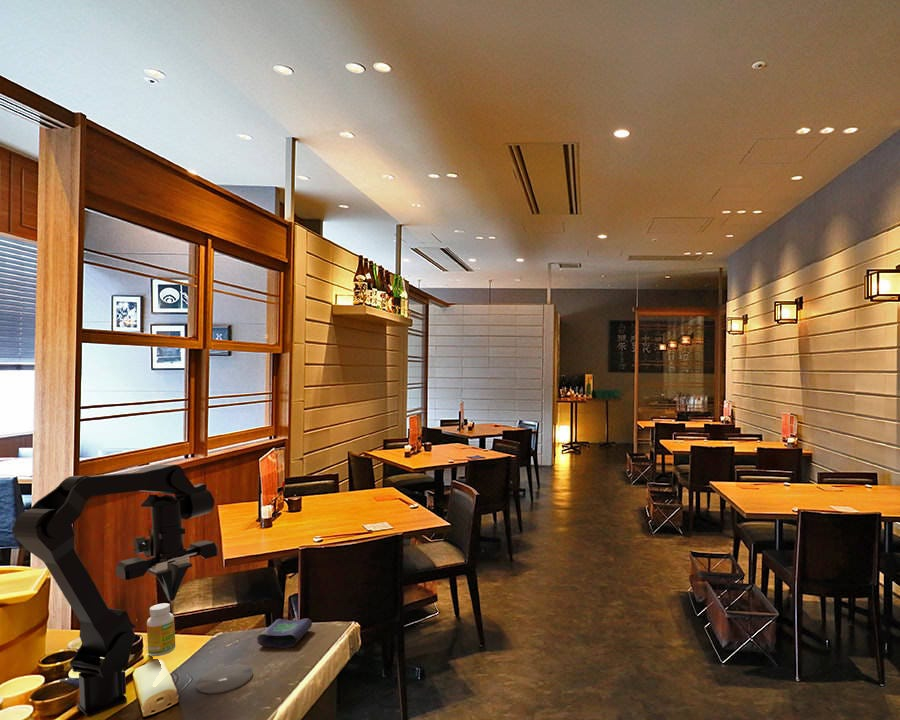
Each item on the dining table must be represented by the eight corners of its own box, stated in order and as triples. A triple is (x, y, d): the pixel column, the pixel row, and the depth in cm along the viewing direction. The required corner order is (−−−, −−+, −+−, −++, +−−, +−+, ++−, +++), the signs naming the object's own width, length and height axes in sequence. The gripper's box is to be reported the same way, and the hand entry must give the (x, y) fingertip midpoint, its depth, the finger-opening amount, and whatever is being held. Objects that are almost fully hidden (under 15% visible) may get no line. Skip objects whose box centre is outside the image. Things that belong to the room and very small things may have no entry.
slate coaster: (211, 699, 106) (211, 696, 106) (187, 683, 113) (187, 680, 113) (262, 676, 113) (261, 673, 114) (236, 662, 120) (236, 659, 120)
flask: (256, 634, 127) (278, 615, 137) (256, 648, 127) (279, 628, 137) (296, 634, 125) (315, 615, 136) (297, 648, 125) (316, 628, 136)
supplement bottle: (164, 657, 125) (162, 611, 126) (142, 656, 126) (140, 611, 127) (180, 646, 131) (178, 601, 131) (159, 645, 132) (157, 601, 132)
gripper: (194, 512, 135) (198, 580, 135) (105, 530, 122) (108, 607, 121) (217, 516, 128) (221, 589, 127) (124, 537, 114) (128, 619, 113)
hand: (171, 600), depth 122 cm, fingers closed
